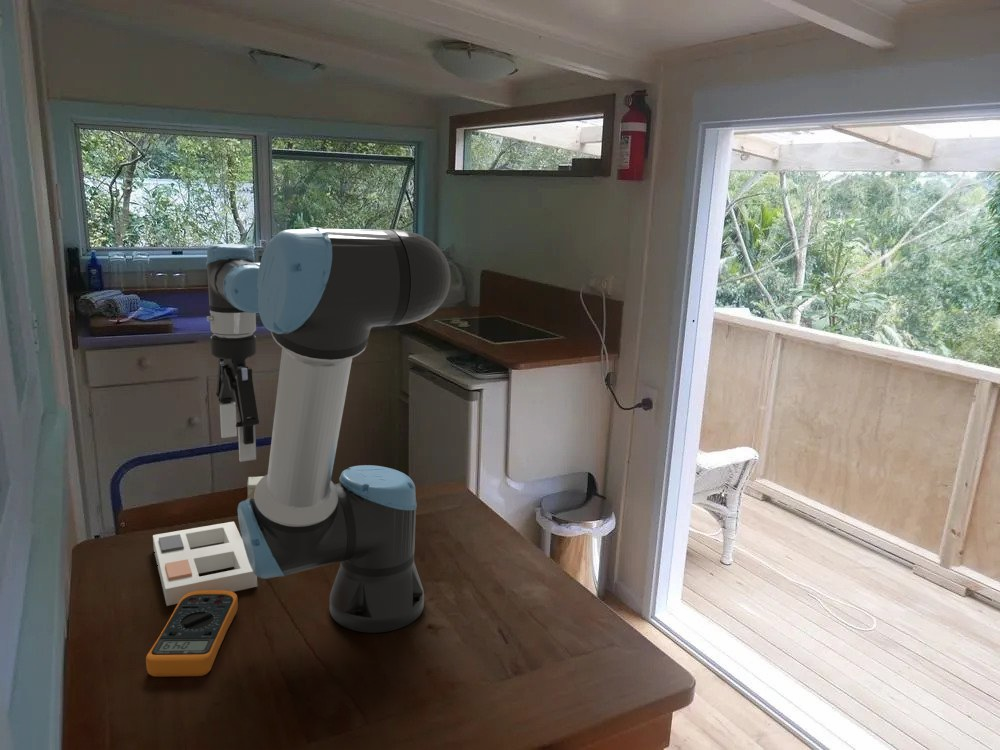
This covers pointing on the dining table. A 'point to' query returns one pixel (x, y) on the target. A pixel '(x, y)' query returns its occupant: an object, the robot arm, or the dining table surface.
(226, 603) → the multimeter
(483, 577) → the dining table surface
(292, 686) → the dining table surface
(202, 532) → the socket board
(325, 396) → the robot arm
